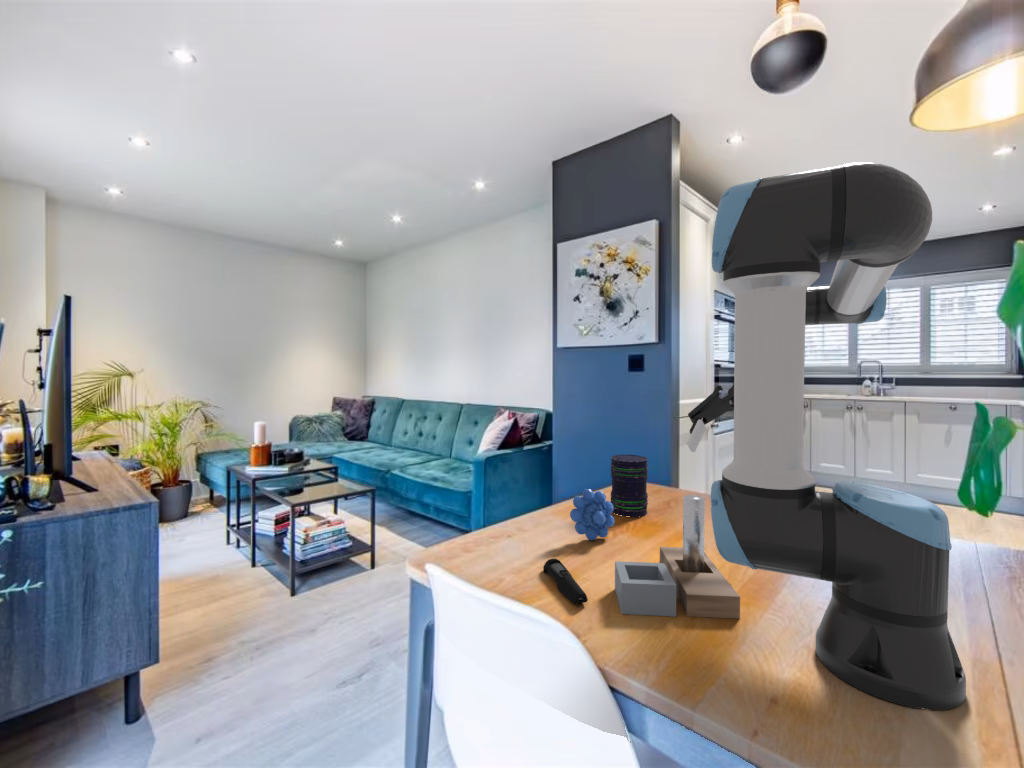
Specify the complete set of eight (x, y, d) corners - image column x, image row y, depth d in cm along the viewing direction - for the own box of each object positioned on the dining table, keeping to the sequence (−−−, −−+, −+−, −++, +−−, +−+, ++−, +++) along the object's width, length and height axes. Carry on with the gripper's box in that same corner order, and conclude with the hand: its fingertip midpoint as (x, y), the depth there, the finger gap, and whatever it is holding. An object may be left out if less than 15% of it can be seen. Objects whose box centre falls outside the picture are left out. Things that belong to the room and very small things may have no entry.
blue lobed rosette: (580, 551, 100) (580, 495, 100) (564, 540, 107) (565, 488, 106) (625, 543, 105) (625, 490, 105) (607, 533, 111) (607, 483, 111)
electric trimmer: (571, 613, 76) (571, 594, 76) (541, 571, 91) (541, 555, 91) (592, 610, 77) (593, 591, 77) (559, 569, 92) (559, 554, 92)
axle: (706, 584, 82) (707, 500, 82) (685, 583, 83) (686, 500, 82) (700, 575, 86) (701, 495, 85) (680, 575, 86) (680, 494, 86)
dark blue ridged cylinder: (640, 506, 133) (641, 454, 132) (653, 517, 123) (653, 461, 123) (606, 507, 132) (606, 454, 132) (616, 518, 122) (616, 461, 122)
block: (676, 616, 74) (676, 585, 74) (621, 613, 75) (621, 583, 74) (663, 591, 82) (664, 563, 82) (614, 588, 83) (615, 561, 83)
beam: (739, 618, 73) (740, 596, 73) (687, 616, 74) (687, 594, 74) (700, 565, 93) (701, 547, 93) (659, 563, 94) (659, 546, 94)
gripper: (829, 387, 92) (799, 475, 83) (708, 384, 111) (672, 455, 102) (820, 360, 88) (787, 449, 79) (696, 362, 108) (659, 433, 99)
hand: (723, 452), depth 91 cm, fingers open, 13 cm apart
